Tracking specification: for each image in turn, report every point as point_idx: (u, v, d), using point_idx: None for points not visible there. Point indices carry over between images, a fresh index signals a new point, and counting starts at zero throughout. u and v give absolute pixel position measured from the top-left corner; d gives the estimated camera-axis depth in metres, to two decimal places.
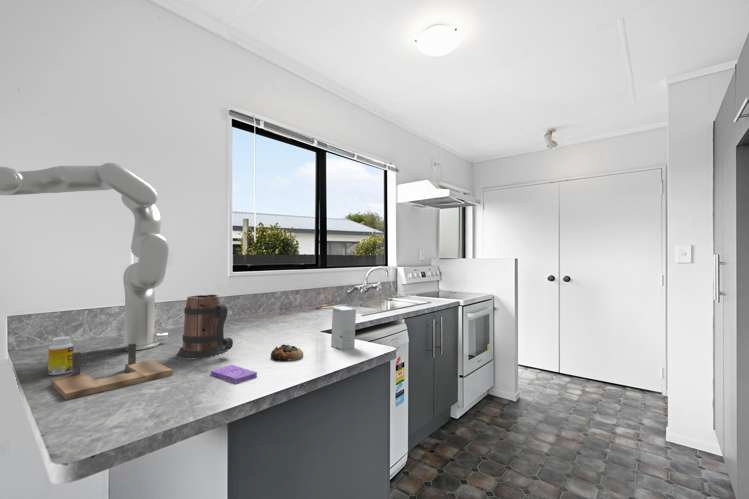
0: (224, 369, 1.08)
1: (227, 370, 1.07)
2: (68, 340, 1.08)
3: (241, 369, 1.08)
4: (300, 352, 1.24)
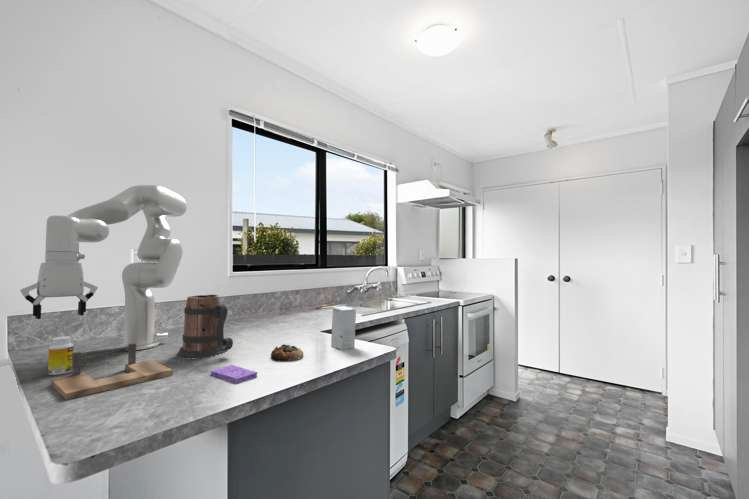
0: (224, 369, 1.08)
1: (227, 370, 1.07)
2: (68, 340, 1.08)
3: (241, 369, 1.08)
4: (300, 352, 1.24)
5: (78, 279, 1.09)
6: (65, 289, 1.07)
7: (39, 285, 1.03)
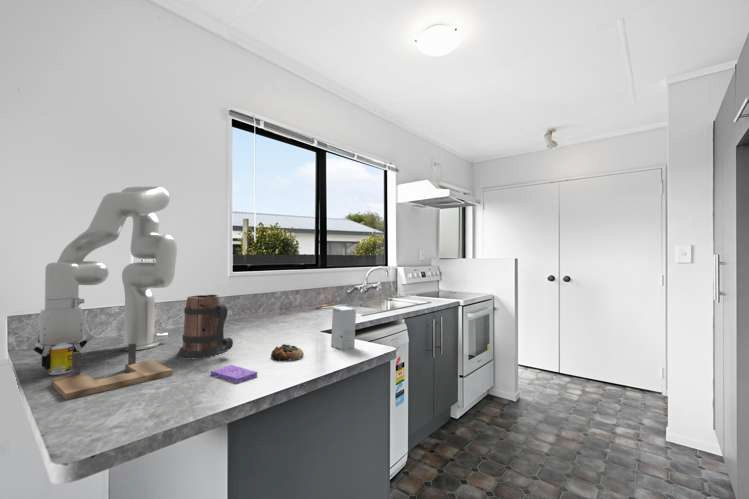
0: (224, 369, 1.08)
1: (227, 370, 1.07)
2: None
3: (241, 369, 1.08)
4: (300, 352, 1.24)
5: (78, 325, 1.09)
6: (65, 335, 1.07)
7: (39, 334, 1.03)
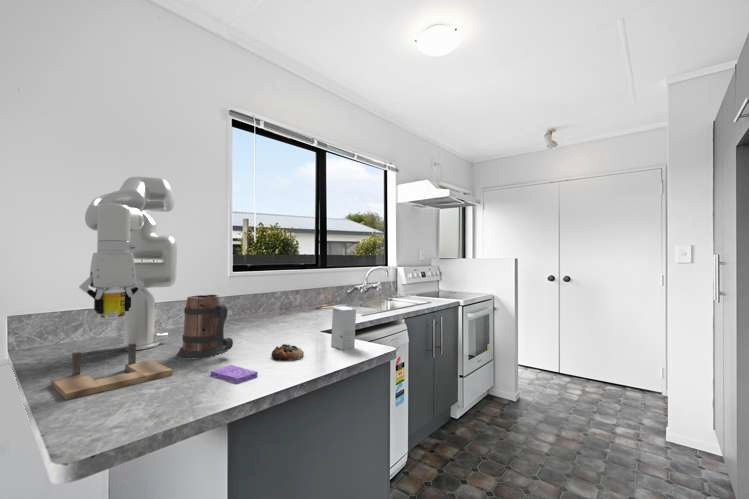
0: (224, 369, 1.08)
1: (227, 370, 1.07)
2: None
3: (241, 369, 1.08)
4: (301, 352, 1.25)
5: (130, 270, 1.05)
6: (118, 279, 1.03)
7: (93, 276, 0.99)
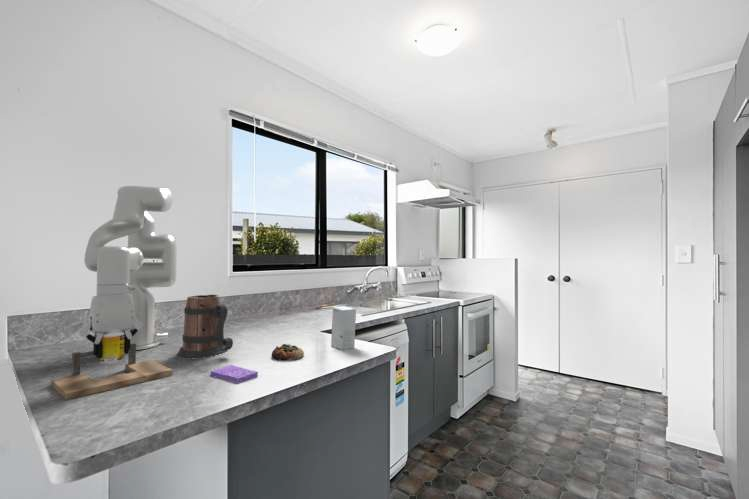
0: (224, 369, 1.08)
1: (227, 370, 1.07)
2: None
3: (241, 369, 1.08)
4: (301, 351, 1.25)
5: (130, 312, 1.05)
6: (117, 323, 1.03)
7: (92, 321, 0.99)
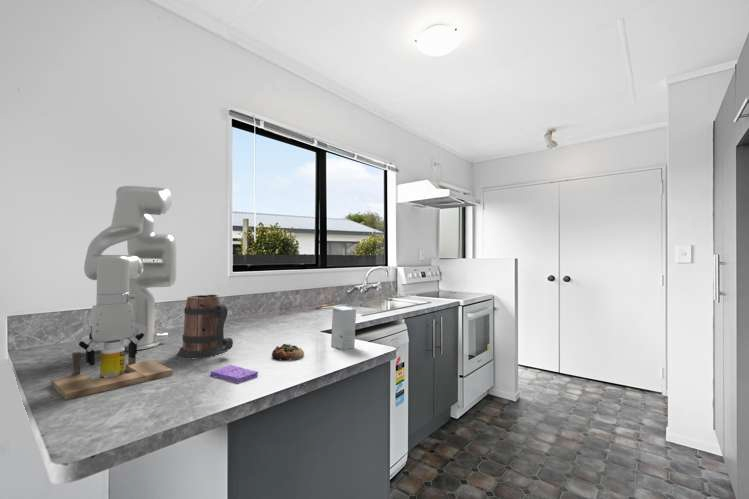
0: (224, 369, 1.08)
1: (227, 370, 1.07)
2: (120, 344, 1.04)
3: (241, 369, 1.08)
4: (301, 351, 1.25)
5: (129, 321, 1.05)
6: (117, 332, 1.03)
7: (92, 330, 0.99)
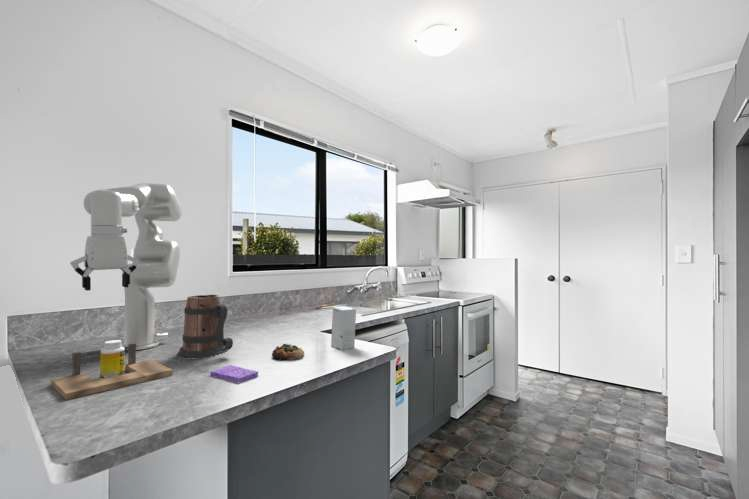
0: (224, 369, 1.08)
1: (227, 370, 1.07)
2: (120, 344, 1.04)
3: (241, 369, 1.08)
4: (301, 351, 1.25)
5: (122, 252, 1.13)
6: (111, 261, 1.10)
7: (87, 258, 1.07)
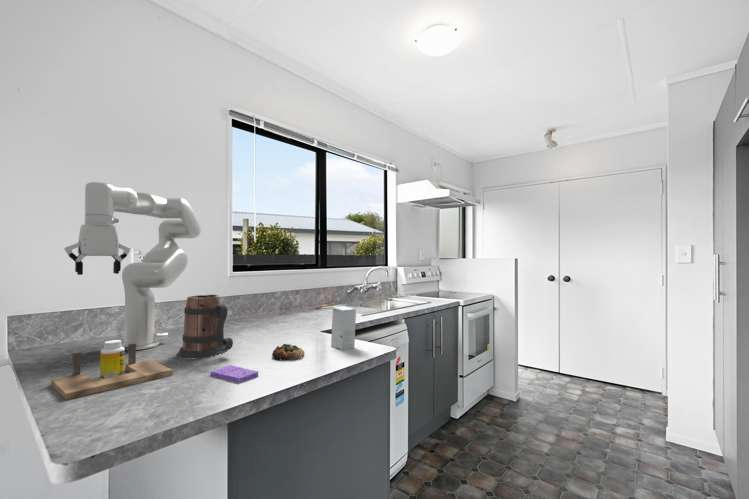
0: (223, 369, 1.07)
1: (227, 370, 1.07)
2: (120, 344, 1.04)
3: (241, 369, 1.08)
4: (301, 351, 1.25)
5: (114, 240, 1.21)
6: (103, 248, 1.18)
7: (80, 244, 1.15)
